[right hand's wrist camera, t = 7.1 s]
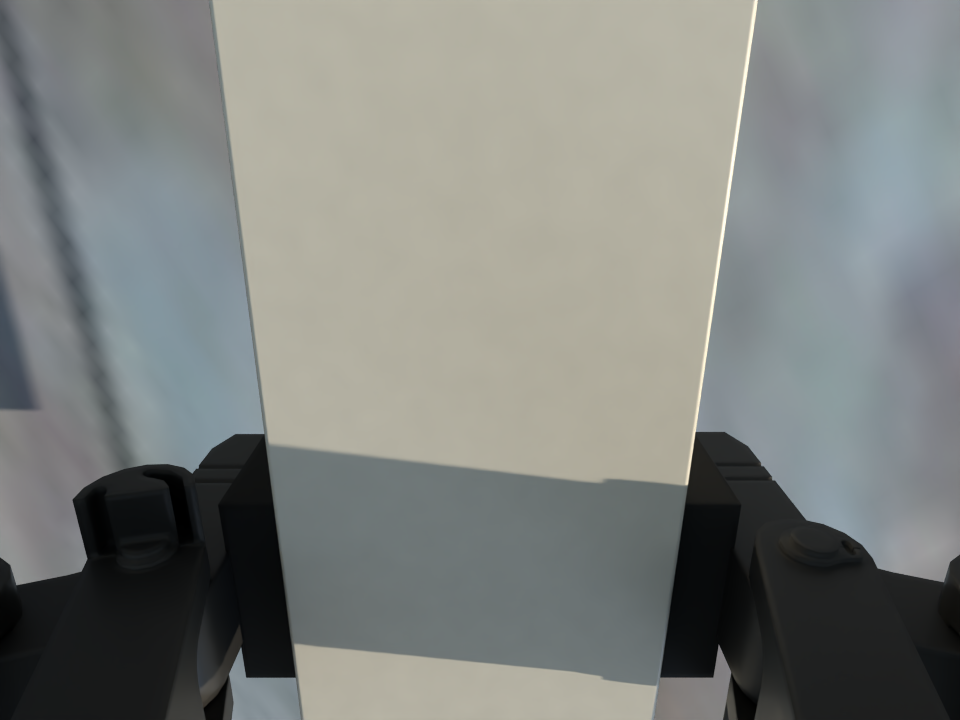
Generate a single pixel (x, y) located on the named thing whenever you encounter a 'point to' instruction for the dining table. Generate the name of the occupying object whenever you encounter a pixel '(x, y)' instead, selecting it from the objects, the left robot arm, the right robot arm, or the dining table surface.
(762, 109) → the dining table surface
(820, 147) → the dining table surface
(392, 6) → the beam
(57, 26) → the dining table surface
